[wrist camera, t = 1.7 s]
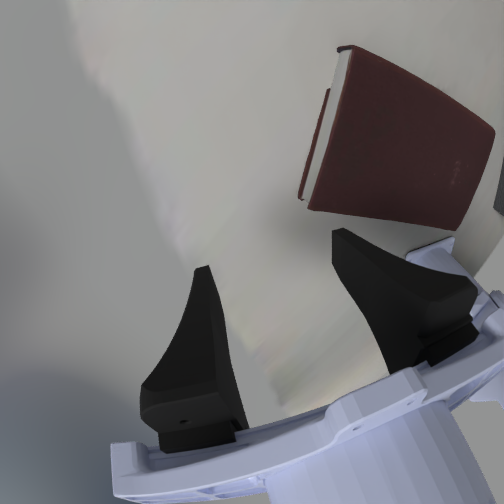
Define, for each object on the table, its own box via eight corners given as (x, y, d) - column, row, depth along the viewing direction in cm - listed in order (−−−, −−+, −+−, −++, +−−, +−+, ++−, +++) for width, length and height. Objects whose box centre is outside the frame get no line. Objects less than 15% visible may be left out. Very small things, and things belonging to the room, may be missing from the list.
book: (334, 42, 17) (358, 42, 14) (479, 121, 23) (501, 132, 20) (291, 194, 24) (307, 213, 21) (440, 219, 30) (458, 235, 27)
